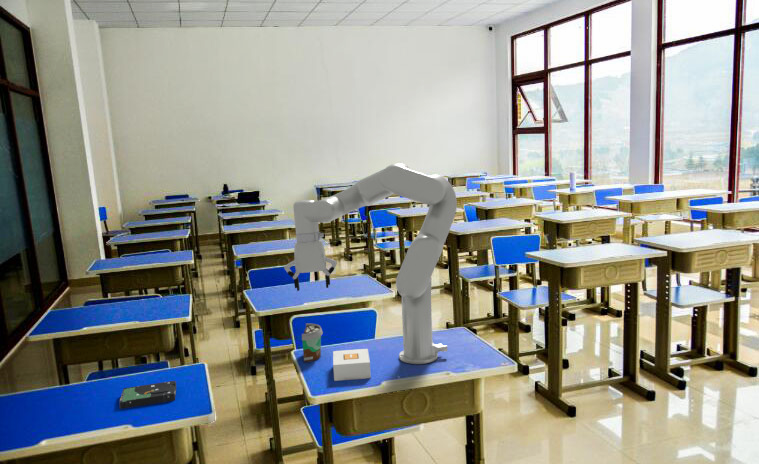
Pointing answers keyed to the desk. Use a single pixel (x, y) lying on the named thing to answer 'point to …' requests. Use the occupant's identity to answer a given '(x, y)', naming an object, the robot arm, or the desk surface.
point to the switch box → (351, 365)
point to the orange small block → (351, 356)
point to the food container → (312, 342)
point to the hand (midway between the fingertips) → (312, 288)
